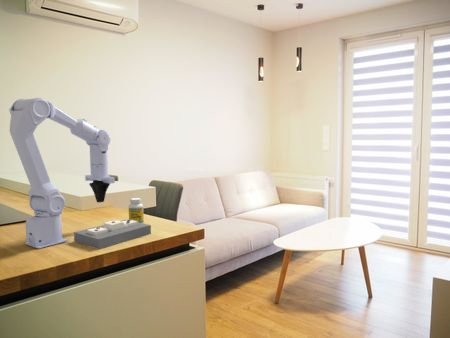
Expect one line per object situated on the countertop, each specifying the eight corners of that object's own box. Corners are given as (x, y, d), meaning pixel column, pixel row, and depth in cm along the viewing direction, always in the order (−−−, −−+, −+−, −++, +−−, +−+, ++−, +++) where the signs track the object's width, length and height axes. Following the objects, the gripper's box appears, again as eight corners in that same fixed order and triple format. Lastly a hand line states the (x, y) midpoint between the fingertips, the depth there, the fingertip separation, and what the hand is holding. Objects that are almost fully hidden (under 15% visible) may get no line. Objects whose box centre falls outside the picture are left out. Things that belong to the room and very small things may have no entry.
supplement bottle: (143, 221, 136) (143, 197, 135) (143, 225, 131) (143, 199, 130) (129, 222, 135) (128, 197, 134) (128, 226, 130) (127, 200, 129)
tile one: (112, 234, 112) (111, 224, 112) (103, 231, 115) (103, 222, 115) (123, 231, 116) (123, 221, 116) (115, 229, 119) (114, 219, 118)
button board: (99, 249, 104) (98, 239, 104) (74, 241, 111) (73, 232, 111) (150, 233, 120) (150, 225, 120) (126, 227, 128) (125, 219, 127)
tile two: (95, 241, 108) (95, 231, 107) (87, 239, 110) (86, 229, 110) (108, 238, 111) (107, 228, 111) (99, 236, 114) (99, 226, 113)
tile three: (127, 232, 117) (127, 223, 117) (119, 230, 120) (118, 221, 120) (138, 230, 121) (137, 220, 121) (129, 228, 123) (129, 219, 123)
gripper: (121, 164, 125) (122, 202, 126) (96, 162, 133) (97, 198, 134) (104, 165, 119) (105, 205, 120) (79, 163, 127) (80, 201, 129)
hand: (100, 202), depth 127 cm, fingers closed
